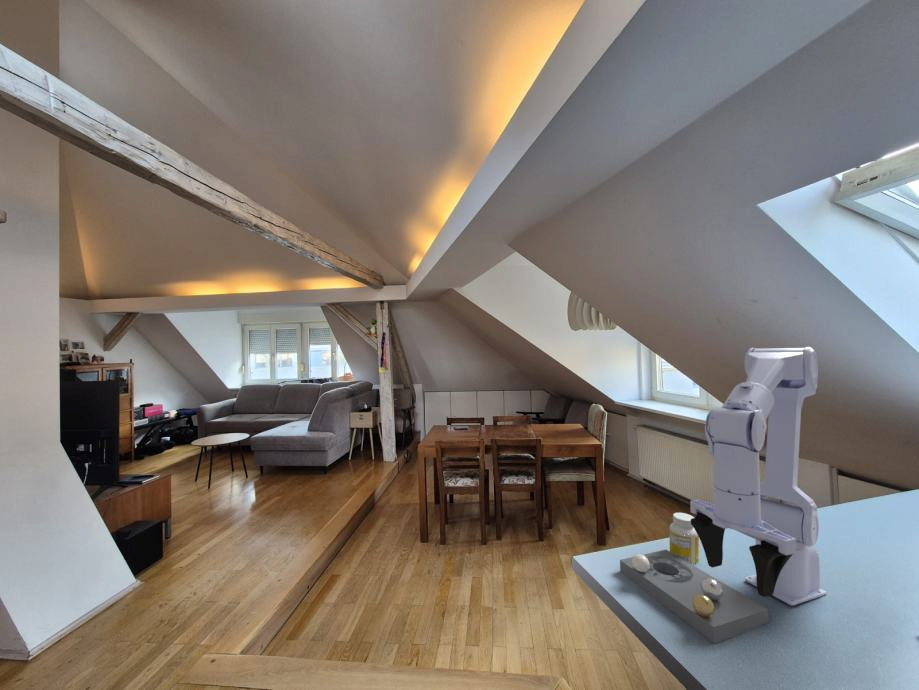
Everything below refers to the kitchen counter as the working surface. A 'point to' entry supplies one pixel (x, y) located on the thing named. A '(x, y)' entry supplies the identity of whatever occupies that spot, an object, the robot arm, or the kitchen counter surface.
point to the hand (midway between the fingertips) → (738, 578)
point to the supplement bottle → (684, 538)
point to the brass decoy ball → (703, 605)
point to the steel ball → (711, 589)
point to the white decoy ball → (640, 563)
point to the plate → (680, 589)
